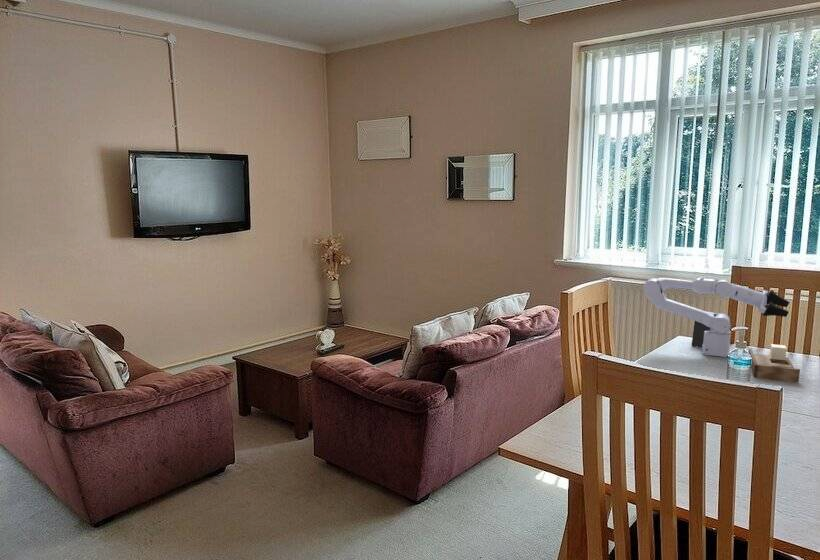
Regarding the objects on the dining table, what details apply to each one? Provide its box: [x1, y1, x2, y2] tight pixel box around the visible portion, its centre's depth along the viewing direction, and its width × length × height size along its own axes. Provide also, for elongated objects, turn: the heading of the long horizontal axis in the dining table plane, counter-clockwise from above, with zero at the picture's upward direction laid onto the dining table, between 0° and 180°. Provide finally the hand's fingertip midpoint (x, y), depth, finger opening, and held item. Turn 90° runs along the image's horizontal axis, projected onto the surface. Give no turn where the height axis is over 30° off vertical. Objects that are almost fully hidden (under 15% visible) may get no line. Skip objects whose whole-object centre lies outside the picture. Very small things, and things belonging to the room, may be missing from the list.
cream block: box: [769, 343, 788, 360], centre depth 213 cm, size 4×4×4 cm
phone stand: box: [691, 321, 712, 348], centre depth 238 cm, size 9×6×12 cm, turn 145°
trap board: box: [747, 347, 801, 383], centre depth 206 cm, size 13×25×4 cm, turn 154°
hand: (787, 309), depth 213 cm, fingers open, 7 cm apart
